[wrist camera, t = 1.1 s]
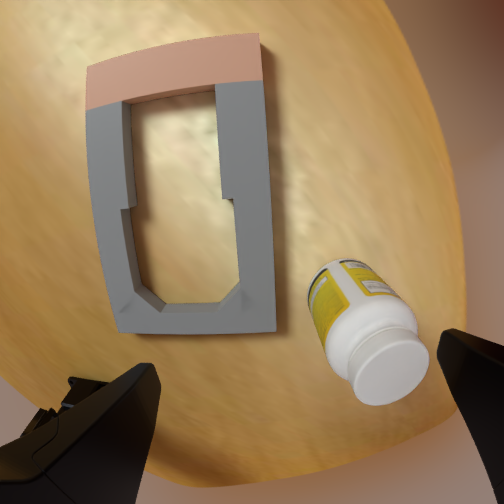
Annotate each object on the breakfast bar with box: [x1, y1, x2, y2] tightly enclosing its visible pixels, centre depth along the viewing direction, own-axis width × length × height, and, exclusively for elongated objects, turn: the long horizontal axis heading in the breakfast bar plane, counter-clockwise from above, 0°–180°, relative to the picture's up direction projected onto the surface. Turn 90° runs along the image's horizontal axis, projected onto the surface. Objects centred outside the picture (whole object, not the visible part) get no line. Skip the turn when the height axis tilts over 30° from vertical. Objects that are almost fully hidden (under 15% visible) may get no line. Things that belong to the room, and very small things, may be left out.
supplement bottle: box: [307, 258, 429, 406], centre depth 16 cm, size 5×5×10 cm
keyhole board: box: [86, 33, 276, 334], centre depth 18 cm, size 20×12×2 cm, turn 4°
